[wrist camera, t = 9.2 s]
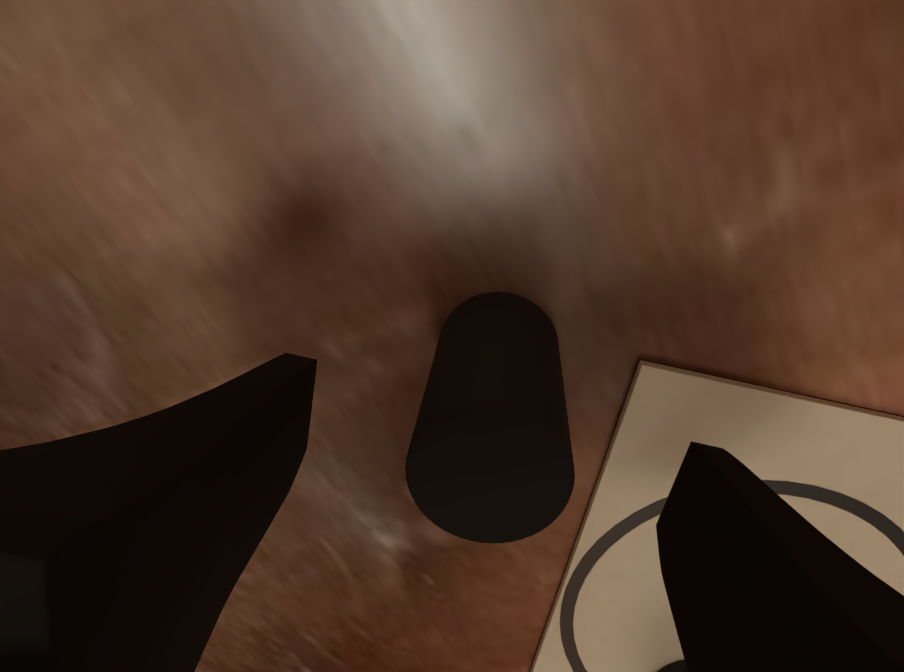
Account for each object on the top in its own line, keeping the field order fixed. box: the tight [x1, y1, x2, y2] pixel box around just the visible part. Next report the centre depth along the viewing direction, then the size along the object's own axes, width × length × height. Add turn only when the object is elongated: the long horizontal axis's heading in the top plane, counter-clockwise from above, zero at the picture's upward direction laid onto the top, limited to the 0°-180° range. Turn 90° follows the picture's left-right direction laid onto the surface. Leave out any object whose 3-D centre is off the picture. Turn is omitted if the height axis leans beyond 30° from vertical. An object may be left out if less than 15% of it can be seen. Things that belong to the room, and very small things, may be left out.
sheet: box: [530, 360, 904, 672], centre depth 19 cm, size 15×14×1 cm
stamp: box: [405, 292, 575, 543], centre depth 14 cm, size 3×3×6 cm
